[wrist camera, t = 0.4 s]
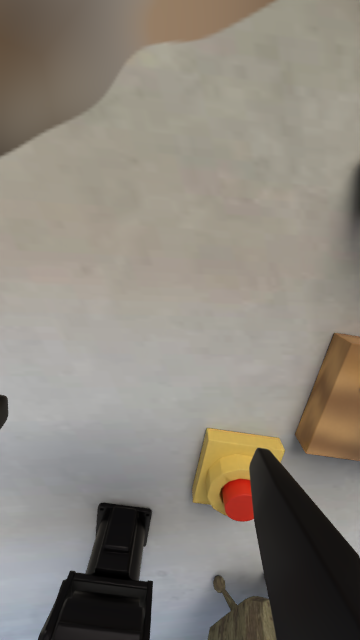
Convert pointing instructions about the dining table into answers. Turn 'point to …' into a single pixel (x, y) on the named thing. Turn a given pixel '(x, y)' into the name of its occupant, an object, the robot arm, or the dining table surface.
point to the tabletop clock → (243, 618)
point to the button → (238, 500)
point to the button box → (227, 462)
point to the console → (334, 403)
